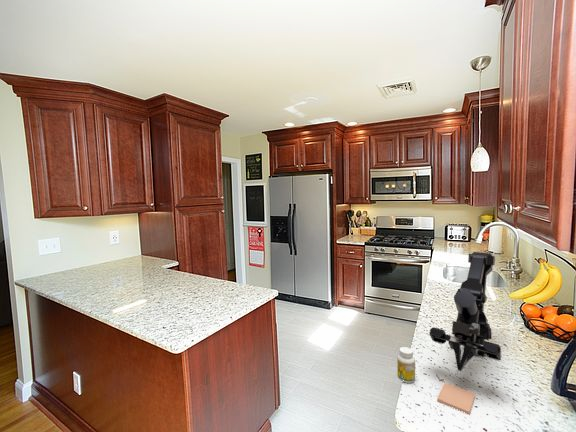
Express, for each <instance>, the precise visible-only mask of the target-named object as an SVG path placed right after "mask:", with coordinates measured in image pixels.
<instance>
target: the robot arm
mask: <svg viewBox="0 0 576 432" xmlns="http://www.w3.org/2000/svg"><path fill="white" fill-rule="evenodd" d="M467 259H468V263H470V266H469V270H468V273H467V277H466V280H463V282H461V284H460V288H458V289H457V291H456V293H455V294H454V296H453V300H454V301H453V302H454V303H455V304H454V305H455V307H456V310H457V316H456V321H455V320H452V327H451V333H452V334H451V335H450V334H446V332H445V330H444V329H441V328H437V327H434V326H432V327H431V328H430V330H429V336H430V339H431V340H432V341H433V342H435V343H438V344H446V343H447V342H448V345H449V348H450V349H452V350H453V352H454V355H455V361H456V367H457V370H458V371H460V372H461V371H463V369H464V368H465V366H466V365H467V363H468V362H469V361H470V360H472V358H473V357H478V356H480V357H485V356H487V358H490V359H493V360H496V361H502V348H501V346H500V345H499V344H498V343H495V342H490V340H491V339H492V338H493V337H492V336H493V335H492V334H493V333H492V328H491V325H490V324H489V323H488V322H489V321H488V319H487V316H486V314H485V312H484V309H485V304H486V302H487V300H488V297H487V294H486V290H487V289H486V287H487V278H488V276H489V274H490V273H491V272H492V271H493V266H495V265H496V256H495V255H493V254H492V253H491V252H479V251H473V252H471V253H468V258H467ZM461 346H463V352H462V348H461Z"/></svg>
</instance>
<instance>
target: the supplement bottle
mask: <svg viewBox="0 0 576 432" xmlns="http://www.w3.org/2000/svg"><path fill="white" fill-rule="evenodd" d="M396 358H397V362H396V363H397V378H398V379H399V381H401V382H403V383H406V384H412V383H414V382H415V381H416V359H415V356H414V351H413V349H412V348H410V347H406V346H401V347H400V348H399V354H398V355H397V357H396ZM403 380H404V381H403Z"/></svg>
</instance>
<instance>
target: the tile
mask: <svg viewBox="0 0 576 432" xmlns="http://www.w3.org/2000/svg"><path fill="white" fill-rule="evenodd" d="M475 399H476V393H475V392H472V391H469V390H467V389H464V388H462V387H459V386H456V385H453V384H451V383H449V382H444V384H442V388H441V390H440V391H439V394H438V396H437V399H436V401H437V402H439V403H441V404H442V405H444V406H447V407H449V406H450V407H449V408H452V407H453V408H452V409H454V408H455V409H454V410H456V409H458V410H457V411H459V410H460V411H459V412H461V411H463V412H462V413H464V412H465V413H464V414H466V413H467V414H466V415H468V414H469V416H470V414H471V412H470V411H472V409H471V408H473V406H472V405H474V402H475Z"/></svg>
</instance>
